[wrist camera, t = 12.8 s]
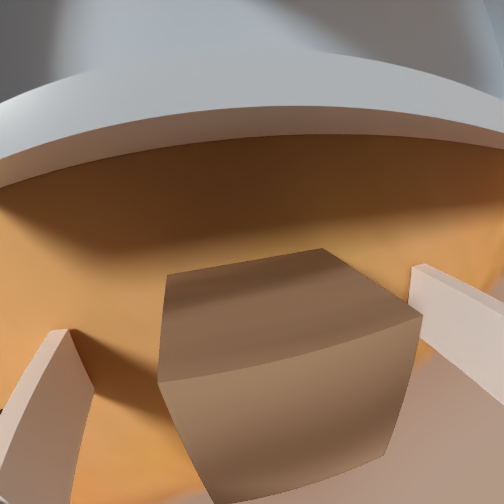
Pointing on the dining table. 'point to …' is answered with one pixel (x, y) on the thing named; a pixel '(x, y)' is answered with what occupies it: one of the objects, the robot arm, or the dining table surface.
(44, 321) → the dining table surface
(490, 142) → the tote
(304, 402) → the walnut cube
